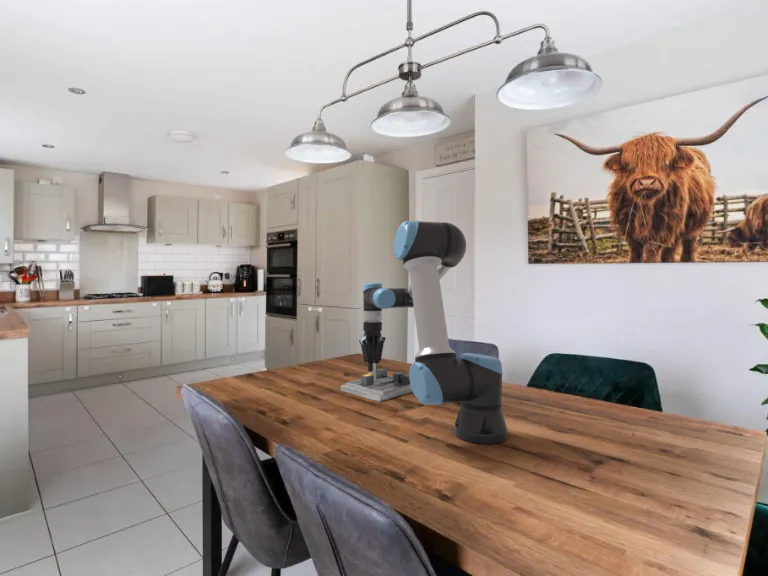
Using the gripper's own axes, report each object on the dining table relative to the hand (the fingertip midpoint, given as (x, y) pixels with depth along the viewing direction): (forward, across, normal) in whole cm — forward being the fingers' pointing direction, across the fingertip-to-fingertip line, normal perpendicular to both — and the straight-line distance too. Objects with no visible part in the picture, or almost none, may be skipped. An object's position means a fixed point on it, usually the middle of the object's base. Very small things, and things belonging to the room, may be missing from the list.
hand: (372, 379), depth 174 cm
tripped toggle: (+2, -3, 0) cm, 3 cm away
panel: (+4, +3, -2) cm, 6 cm away
